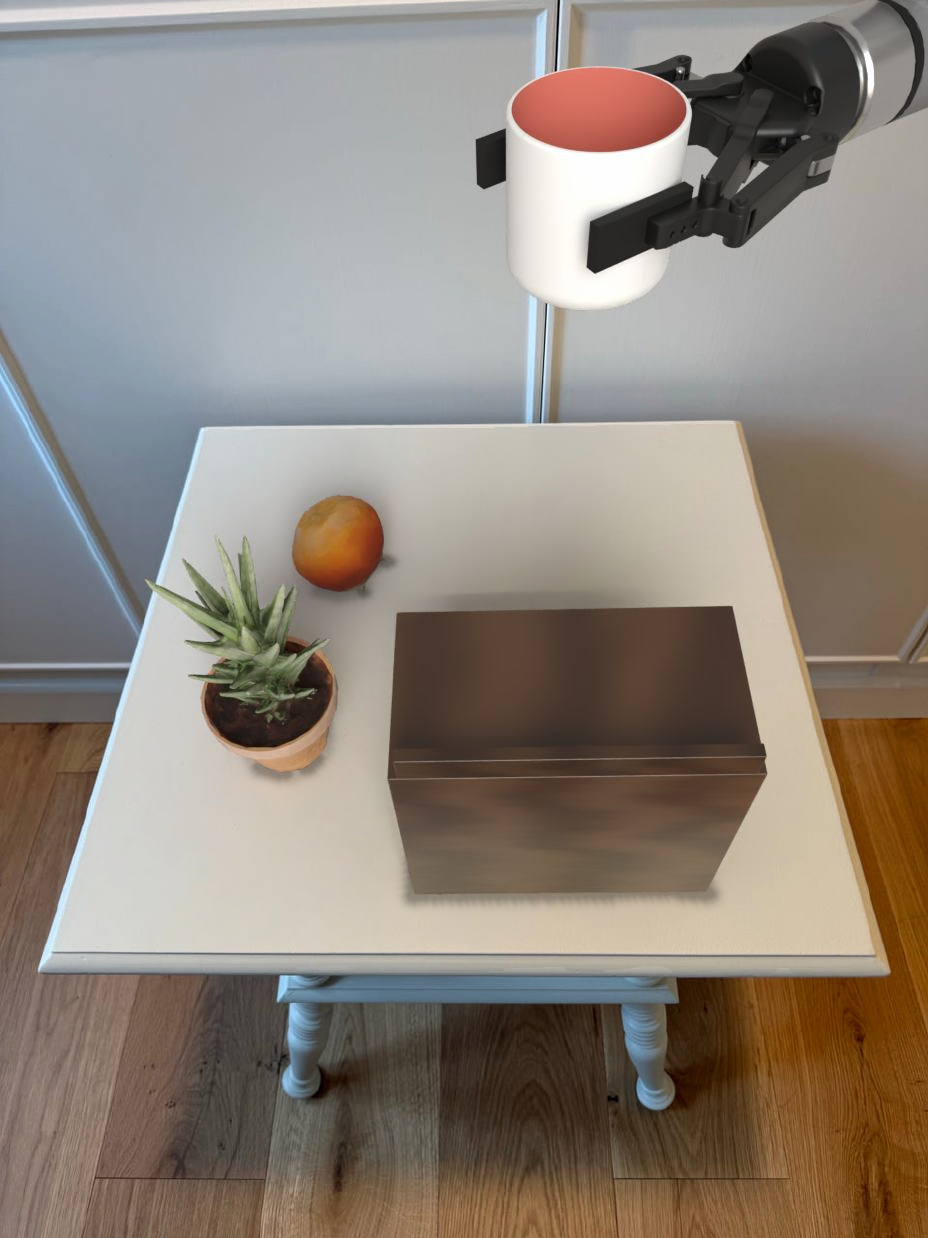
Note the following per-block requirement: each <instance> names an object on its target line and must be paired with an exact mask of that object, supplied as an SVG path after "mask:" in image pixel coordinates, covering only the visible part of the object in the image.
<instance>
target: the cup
mask: <svg viewBox="0 0 928 1238" xmlns="http://www.w3.org/2000/svg"><path fill="white" fill-rule="evenodd" d="M691 118H692V109H691V105H690V100H689V99H687V97H686V96H685V95H684V93H683V92H682V91H681V90H679V89H678V88H677V87H676V86H674V85H673V84H671V83H669V82H668V81H666V80H664V79H662V78H660V77H657V76H655V75H652V74H649V73H646V72H642V71H638V70H633V68H628V67H619V66H608V65H607V66H606V65H605V66H601V65H595V66H594V65H593V66H592V65H591V66H579V67H577V66H576V67H572V68H571V67H570V68H566V69H561V70H557V71H553V72H549V73H547V74H543V75H540V76H538V77H536V78H534V79H532V80H530V81H528V82H527V83H525V84H523V85H522V86H520V88H518V89H517V90H516V91H515V92H514V93H513V95H511V96H510V98H509V100H508V103H507V105H506V108H505V128H506V181H505V217H506V218H505V238H506V239H505V244H506V245H505V256H506V263H507V267H508V270H509V271H510V274H511V276H512V277H513V279H514V280H515V282H516V283H517V285H518V286H519V287H521V288H522V289H523V290H524V292H526V293H527V294H528V295H530V296H532V297H533V298H535V299H536V300H538V301H540V302H542V303H544V304H548V305H549V306H553V307H556V308H560V309H564V310H569V311H577V312H578V311H579V312H597V311H598V312H599V311H605V310H611V309H616V308H620V307H623V306H625V305H628V304H631V303H633V302H635V301H638V300H639V299H641V298H642V297H644V296H645V295H646V294H648V293H649V292H651V291H652V290H653V289H654V288H655V287H656V286H657V285H658V283H660V281H661V280H662V278H663V277H664V275H665V273H666V271H667V268H668V266H669V263H670V257H671V250H672V246H670V247H668V248H666V249H660V250H655V249H654V248H652V249H650V250H647V251H645V252H643V253H641V254H639V255H636V256H634V257H632V258H630V259H627V260H625V261H623V262H621V263H619V264H616V265H614V266H612V267H610V268H607V269H605V270H603V271H601V272H598V273H596V274H594V273H593V272H592V271H590V270H589V269H588V268H586V266H587V253H588V241H589V228H590V221H592V220H594V219H597V218H599V217H602V216H604V215H606V214H609V213H611V212H613V211H616V210H618V209H620V208H623V207H625V206H627V205H630V204H632V203H634V202H637V201H639V200H641V199H644V198H646V197H648V196H651V195H653V194H655V193H658V192H660V191H662V190H665V189H667V188H670V187H672V186H674V185H677V184H679V183H681V182H683V174H684V170H685V169H684V167H685V161H686V155H687V150H688V146H687V143H688V137H689V131H690V124H691Z"/></svg>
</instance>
